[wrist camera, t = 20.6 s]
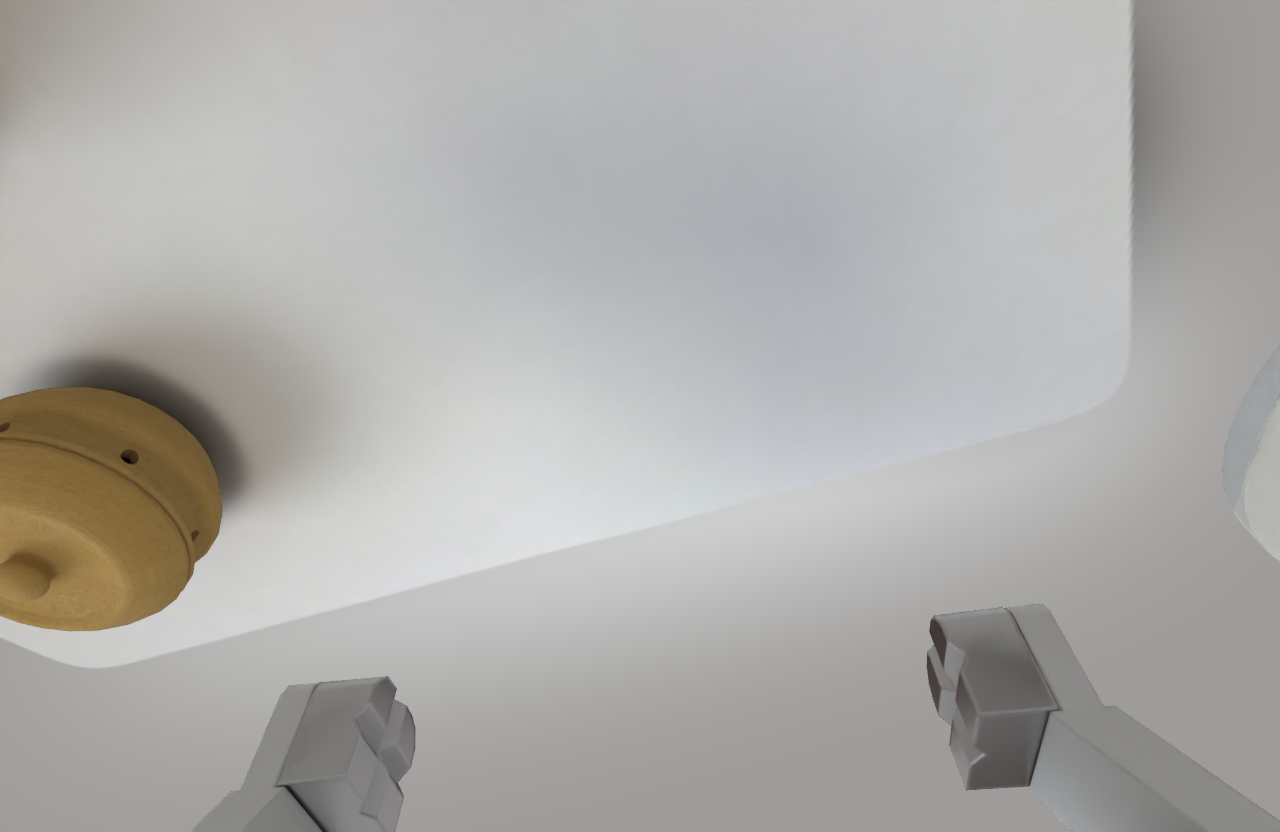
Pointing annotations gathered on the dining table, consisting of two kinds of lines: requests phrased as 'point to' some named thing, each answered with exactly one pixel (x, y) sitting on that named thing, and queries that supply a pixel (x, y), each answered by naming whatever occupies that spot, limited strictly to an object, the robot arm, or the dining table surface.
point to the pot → (98, 508)
